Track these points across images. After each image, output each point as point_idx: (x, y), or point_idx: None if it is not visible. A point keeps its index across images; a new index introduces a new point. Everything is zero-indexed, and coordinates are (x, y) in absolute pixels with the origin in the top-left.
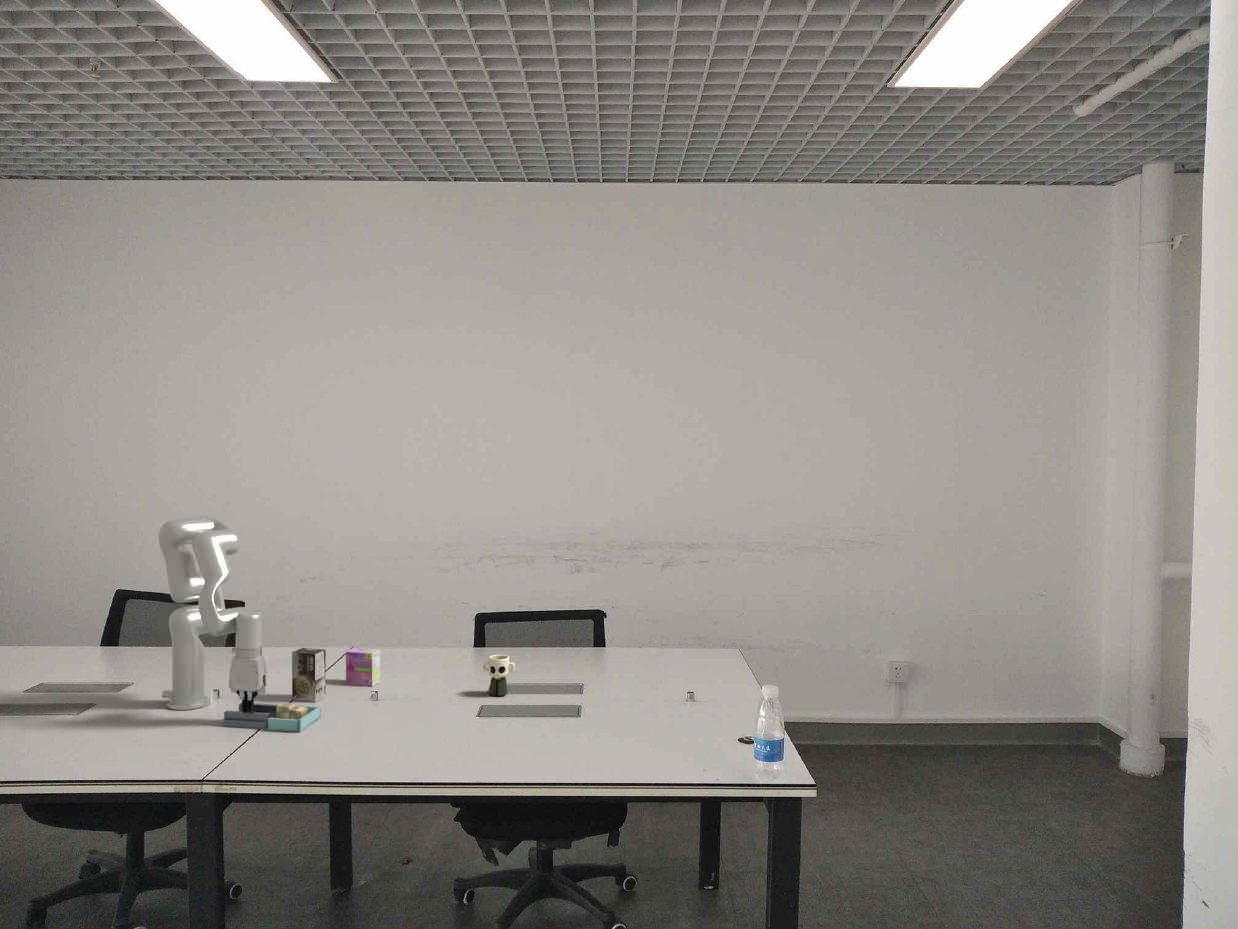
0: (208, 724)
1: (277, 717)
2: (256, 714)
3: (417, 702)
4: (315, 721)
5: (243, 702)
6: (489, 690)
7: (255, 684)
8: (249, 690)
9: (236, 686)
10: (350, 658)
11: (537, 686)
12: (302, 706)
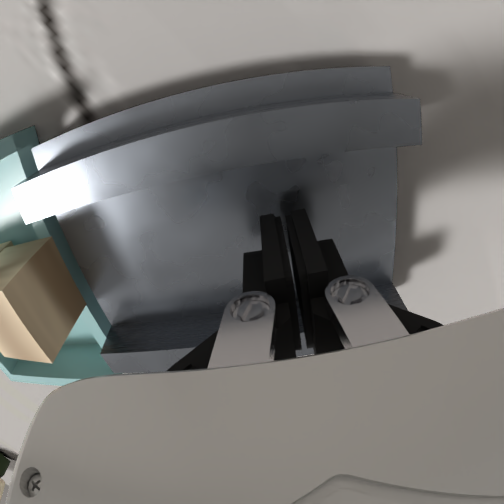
0: (462, 89)
1: (37, 243)
2: (87, 157)
3: (22, 440)
4: None
5: (314, 258)
6: (2, 458)
7: (45, 483)
8: (175, 379)
9: (492, 375)
10: None
11: (9, 466)
12: (57, 379)
